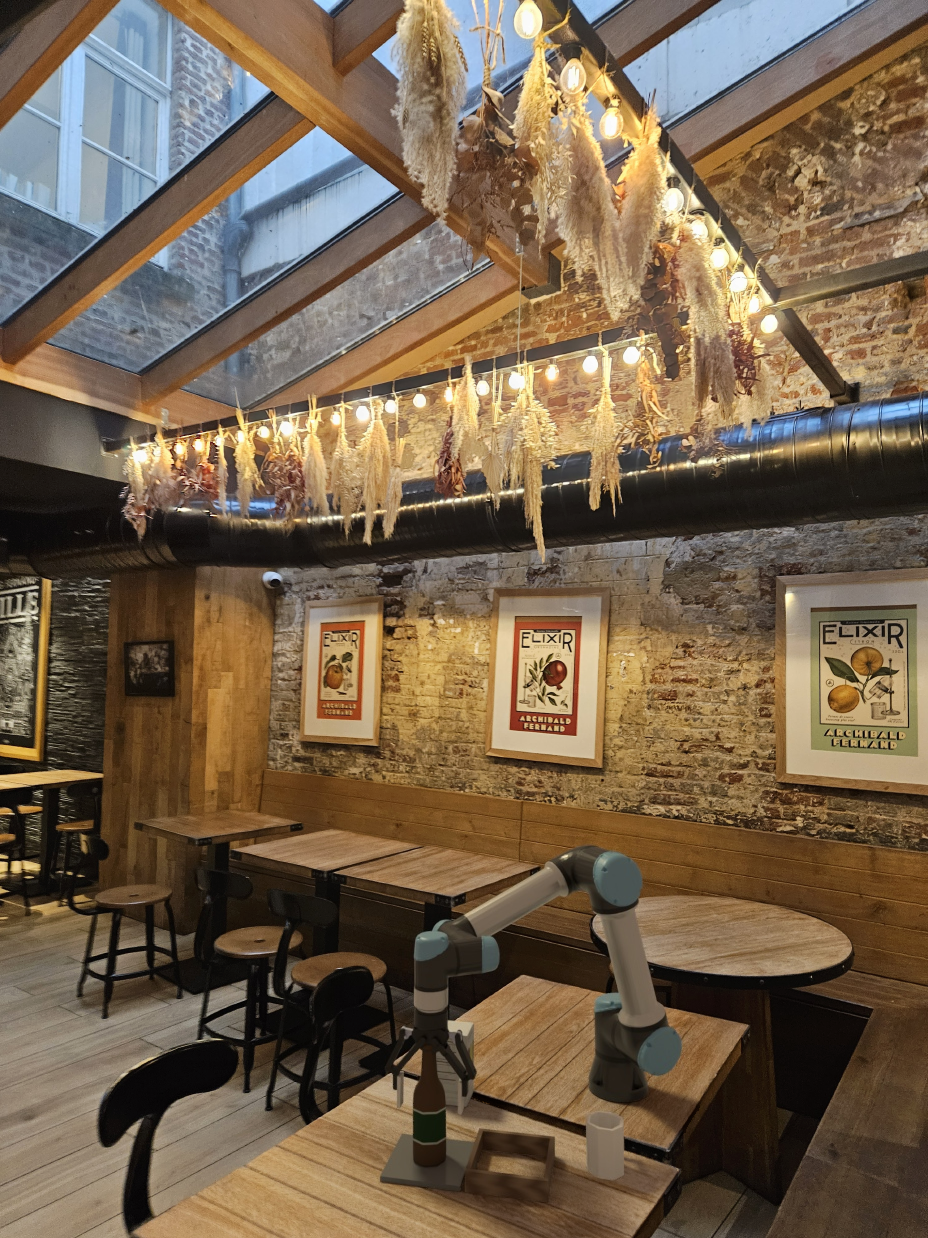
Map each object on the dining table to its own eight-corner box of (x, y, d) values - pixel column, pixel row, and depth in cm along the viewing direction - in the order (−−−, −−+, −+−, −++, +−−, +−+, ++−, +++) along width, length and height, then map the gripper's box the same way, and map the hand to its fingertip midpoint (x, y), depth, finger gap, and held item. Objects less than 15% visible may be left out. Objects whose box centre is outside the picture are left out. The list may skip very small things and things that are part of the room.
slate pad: (474, 1146, 181) (474, 1142, 181) (459, 1191, 164) (459, 1186, 164) (401, 1138, 184) (401, 1133, 184) (379, 1181, 167) (380, 1176, 167)
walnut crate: (554, 1156, 177) (554, 1136, 178) (548, 1202, 161) (548, 1181, 161) (479, 1147, 181) (479, 1128, 181) (464, 1192, 164) (464, 1171, 164)
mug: (617, 1185, 167) (616, 1134, 168) (578, 1171, 171) (578, 1123, 172) (637, 1157, 177) (636, 1110, 178) (600, 1146, 182) (600, 1100, 183)
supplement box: (467, 1108, 198) (467, 1036, 200) (430, 1104, 200) (431, 1033, 202) (474, 1090, 207) (474, 1021, 209) (439, 1086, 209) (440, 1018, 211)
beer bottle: (420, 1172, 169) (419, 1051, 172) (406, 1154, 176) (406, 1038, 179) (453, 1162, 172) (452, 1044, 175) (438, 1145, 179) (437, 1032, 182)
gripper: (489, 1004, 179) (489, 1105, 177) (381, 996, 183) (380, 1094, 181) (483, 1017, 171) (483, 1123, 169) (371, 1008, 176) (370, 1111, 174)
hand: (430, 1108), depth 175 cm, fingers open, 13 cm apart
